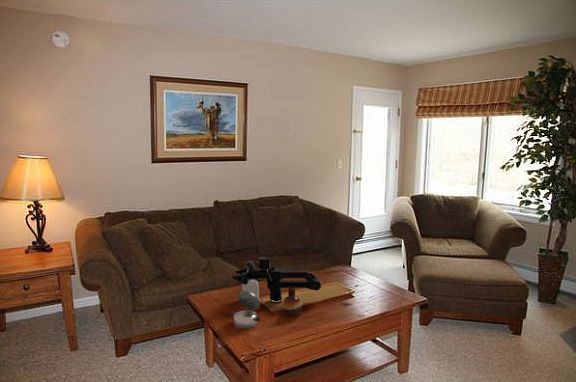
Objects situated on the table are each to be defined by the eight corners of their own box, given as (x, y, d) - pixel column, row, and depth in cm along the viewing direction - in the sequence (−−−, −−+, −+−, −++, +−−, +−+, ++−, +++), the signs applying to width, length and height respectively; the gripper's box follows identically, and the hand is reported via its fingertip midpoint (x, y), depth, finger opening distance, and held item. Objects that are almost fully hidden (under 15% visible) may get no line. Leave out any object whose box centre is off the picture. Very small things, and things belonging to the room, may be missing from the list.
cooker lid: (242, 307, 218) (244, 304, 219) (262, 311, 211) (263, 308, 213) (235, 290, 211) (237, 287, 213) (255, 294, 205) (257, 291, 207)
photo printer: (260, 298, 242) (259, 279, 240) (257, 301, 237) (256, 281, 236) (244, 297, 245) (243, 278, 243) (241, 299, 241) (240, 280, 239)
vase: (295, 320, 211) (294, 292, 209) (278, 315, 217) (277, 289, 215) (305, 312, 221) (305, 285, 219) (289, 308, 226) (288, 282, 224)
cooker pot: (238, 315, 219) (238, 307, 218) (265, 321, 210) (265, 313, 210) (225, 324, 208) (225, 316, 208) (252, 331, 200) (252, 323, 199)
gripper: (261, 256, 244) (236, 256, 246) (256, 266, 226) (229, 266, 227) (261, 273, 246) (237, 274, 247) (257, 285, 227) (230, 285, 229)
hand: (233, 274), depth 238 cm, fingers open, 9 cm apart
